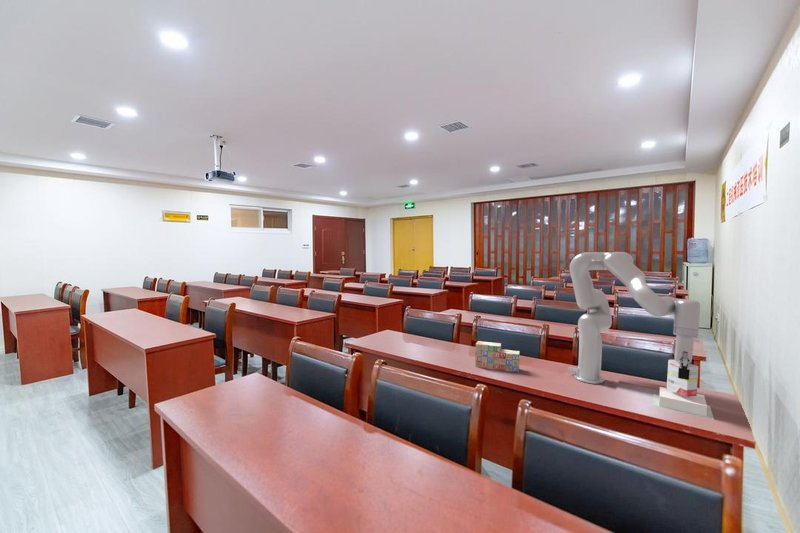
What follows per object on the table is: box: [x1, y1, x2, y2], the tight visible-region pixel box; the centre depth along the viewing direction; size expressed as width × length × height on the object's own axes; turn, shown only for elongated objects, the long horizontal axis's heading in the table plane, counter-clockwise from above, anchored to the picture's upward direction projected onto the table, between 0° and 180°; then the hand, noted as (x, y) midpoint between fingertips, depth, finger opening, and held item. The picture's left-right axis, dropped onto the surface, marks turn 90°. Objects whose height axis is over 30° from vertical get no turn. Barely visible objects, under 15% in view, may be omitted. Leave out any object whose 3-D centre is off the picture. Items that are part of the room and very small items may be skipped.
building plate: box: [652, 393, 715, 421], centre depth 139 cm, size 18×14×1 cm
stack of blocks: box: [474, 340, 520, 373], centre depth 183 cm, size 21×6×12 cm, turn 68°
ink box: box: [666, 359, 699, 397], centre depth 139 cm, size 9×5×12 cm, turn 10°
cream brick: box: [658, 386, 708, 418], centre depth 139 cm, size 14×12×4 cm
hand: (682, 375), depth 138 cm, fingers closed on ink box, 9 cm apart
